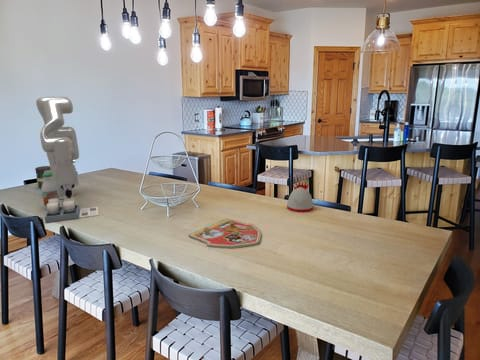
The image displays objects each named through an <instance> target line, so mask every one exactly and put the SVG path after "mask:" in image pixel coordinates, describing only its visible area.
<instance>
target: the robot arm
mask: <svg viewBox="0 0 480 360" xmlns="http://www.w3.org/2000/svg"><path fill="white" fill-rule="evenodd" d="M35 103H36V108H37V110H38V113H39V114H40V116H41V118H42V120H43V123H44V126H43V127H42V128H41V130H40V133H39V135H40V136H39V137H40V143H41V149H42V150H43V151H44V153H45V154H46V157H47V160H48V164H49V166H50V169H51V173H52V179H53V181H54V183H55V184H56V187H57V190H58V196H59V200H64V198H65V197H67V198H71V196H73V197H75V192H73V191H72V190H73V189H74V188H75V187H77V186H80V185H79V182H78V181H79V179H78V171H77V168H76V166H75V163H76V160H78V159H79V158H80V151H79V150H80V149H79V143H78V138H77V134H76V131H75V130H76V129H75V128H74V127H72V126H64V125H65V119H64V116H63V115H64V114H66V115H68V114H72V113H73V111H74V106H73V103H72V100H71V99H70V98H69V97H68V96H43V97H39V98H37V99H36V101H35Z"/></svg>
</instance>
